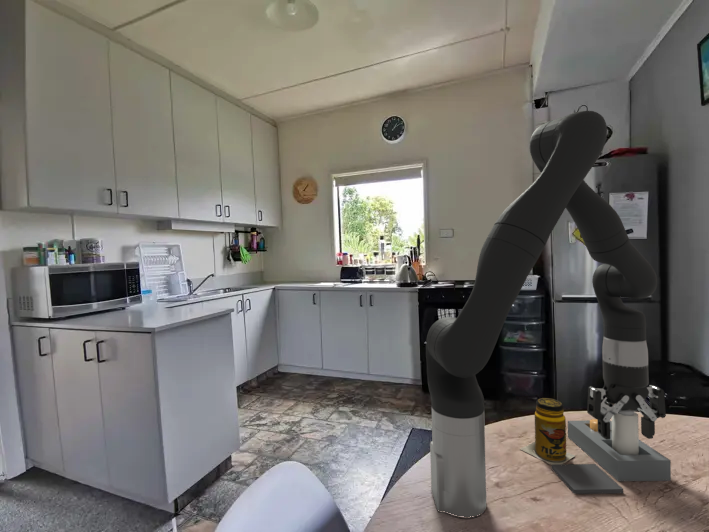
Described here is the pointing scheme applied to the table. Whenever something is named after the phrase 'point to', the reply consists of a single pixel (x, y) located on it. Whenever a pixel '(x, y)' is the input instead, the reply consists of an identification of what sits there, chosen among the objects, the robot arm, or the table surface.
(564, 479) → the mat
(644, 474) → the block
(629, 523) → the table surface
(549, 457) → the condiment
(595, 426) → the plunger
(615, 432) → the cylinder
